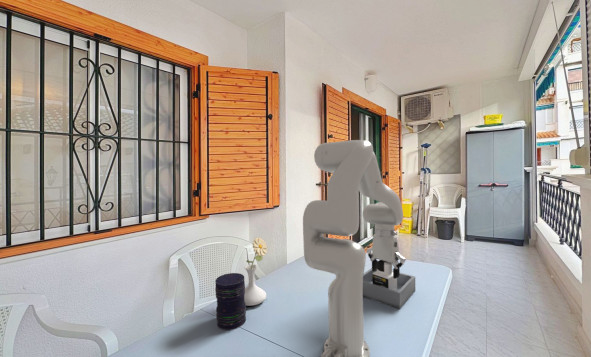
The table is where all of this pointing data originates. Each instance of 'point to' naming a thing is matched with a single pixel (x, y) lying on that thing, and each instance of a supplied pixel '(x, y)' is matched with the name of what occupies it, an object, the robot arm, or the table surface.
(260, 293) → the flower in vase
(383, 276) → the medicine bottle
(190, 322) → the table surface
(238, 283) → the dark blue cylinder
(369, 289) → the bin
